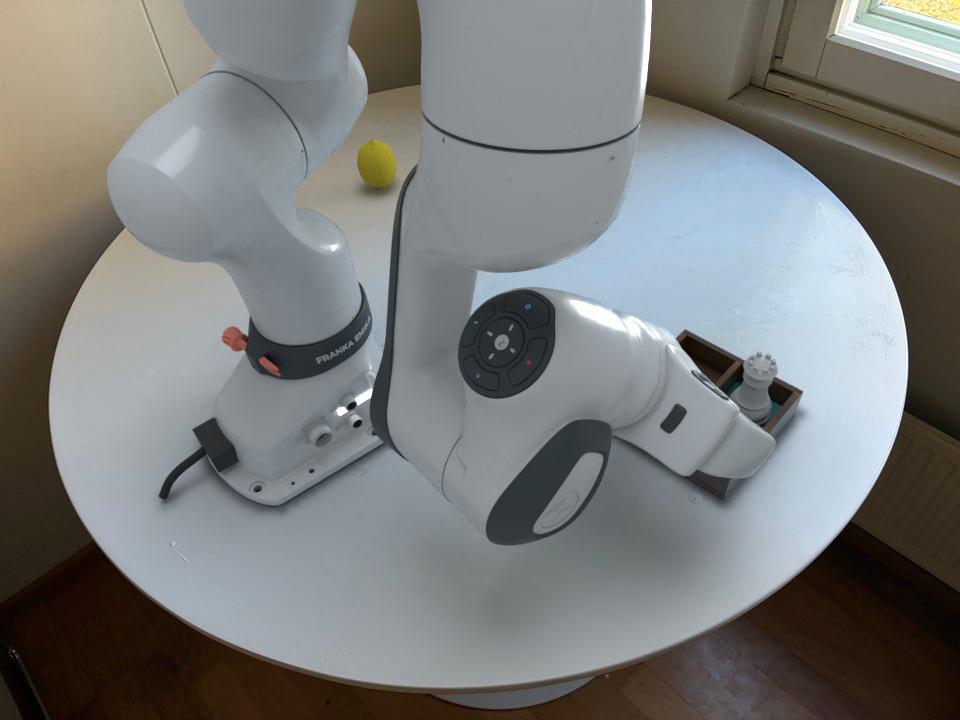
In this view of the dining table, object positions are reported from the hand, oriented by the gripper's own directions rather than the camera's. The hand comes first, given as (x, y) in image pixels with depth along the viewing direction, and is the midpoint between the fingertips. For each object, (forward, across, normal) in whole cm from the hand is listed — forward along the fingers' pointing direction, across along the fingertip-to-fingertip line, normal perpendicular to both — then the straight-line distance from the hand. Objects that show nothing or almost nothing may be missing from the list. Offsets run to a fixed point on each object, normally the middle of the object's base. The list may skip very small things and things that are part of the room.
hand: (697, 391), depth 70 cm
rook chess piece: (+14, 0, -1) cm, 14 cm away
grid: (+12, -2, -4) cm, 13 cm away
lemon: (+9, -62, -7) cm, 63 cm away
